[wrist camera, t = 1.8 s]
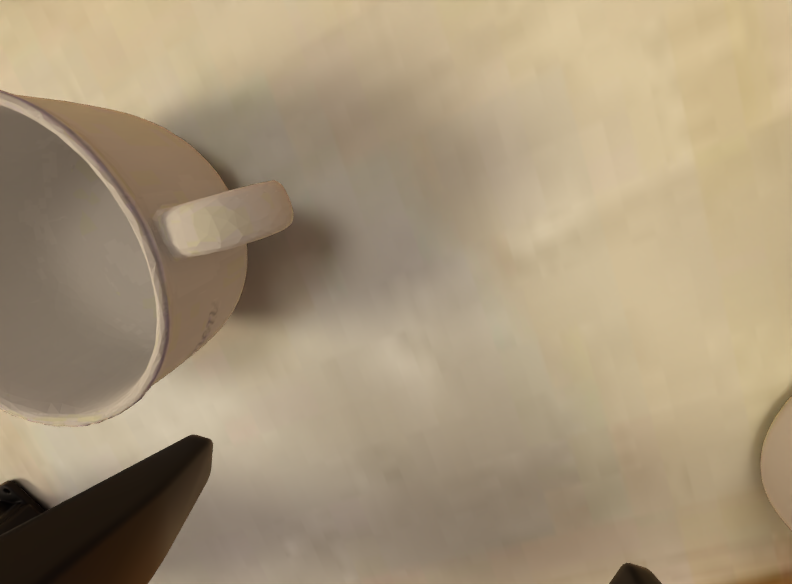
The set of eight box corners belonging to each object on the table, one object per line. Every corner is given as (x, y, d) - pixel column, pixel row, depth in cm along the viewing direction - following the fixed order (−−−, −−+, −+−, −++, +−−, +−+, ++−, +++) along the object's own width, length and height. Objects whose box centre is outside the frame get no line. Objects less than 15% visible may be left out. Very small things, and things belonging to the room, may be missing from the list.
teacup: (103, 327, 23) (-68, 423, 15) (26, 109, 19) (-253, 98, 11) (353, 326, 21) (294, 438, 13) (324, 81, 17) (219, 46, 9)
